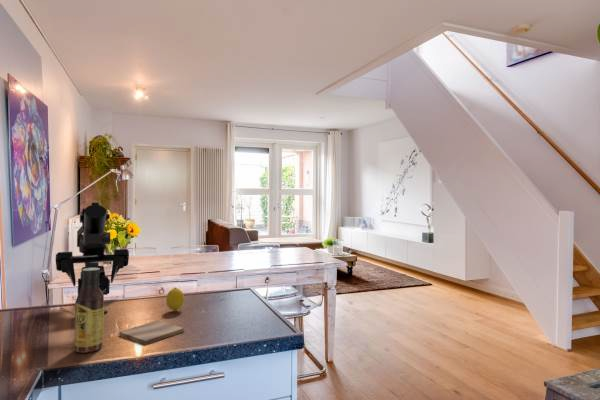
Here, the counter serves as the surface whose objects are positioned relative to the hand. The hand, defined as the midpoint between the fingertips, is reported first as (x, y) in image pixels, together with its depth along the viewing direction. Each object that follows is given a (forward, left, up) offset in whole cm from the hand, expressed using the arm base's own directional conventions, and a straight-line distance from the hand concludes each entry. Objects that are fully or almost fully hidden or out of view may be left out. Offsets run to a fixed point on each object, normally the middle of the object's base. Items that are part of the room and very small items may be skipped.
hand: (93, 283), depth 106 cm
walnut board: (+17, +6, -13) cm, 22 cm away
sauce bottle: (+12, -9, -14) cm, 20 cm away
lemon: (+7, +25, -14) cm, 29 cm away
